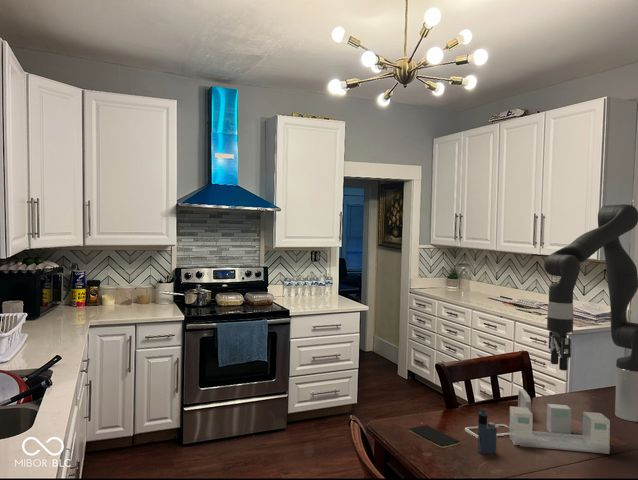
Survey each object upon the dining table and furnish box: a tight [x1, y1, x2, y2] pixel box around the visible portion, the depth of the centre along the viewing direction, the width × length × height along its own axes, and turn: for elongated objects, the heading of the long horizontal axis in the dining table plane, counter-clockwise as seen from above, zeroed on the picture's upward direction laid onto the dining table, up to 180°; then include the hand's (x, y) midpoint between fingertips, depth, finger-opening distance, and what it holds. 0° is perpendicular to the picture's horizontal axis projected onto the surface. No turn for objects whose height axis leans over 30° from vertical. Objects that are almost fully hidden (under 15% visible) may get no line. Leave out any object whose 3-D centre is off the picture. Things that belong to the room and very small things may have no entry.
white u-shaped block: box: [508, 405, 611, 455], centre depth 146 cm, size 26×7×10 cm, turn 81°
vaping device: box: [477, 408, 498, 455], centre depth 139 cm, size 3×5×12 cm, turn 95°
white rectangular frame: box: [464, 423, 510, 439], centre depth 154 cm, size 7×1×15 cm
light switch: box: [517, 388, 532, 413], centre depth 172 cm, size 2×12×8 cm, turn 169°
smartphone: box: [409, 424, 461, 449], centre depth 149 cm, size 7×1×15 cm
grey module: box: [546, 403, 572, 434], centre depth 157 cm, size 6×4×8 cm
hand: (558, 367), depth 157 cm, fingers open, 8 cm apart
